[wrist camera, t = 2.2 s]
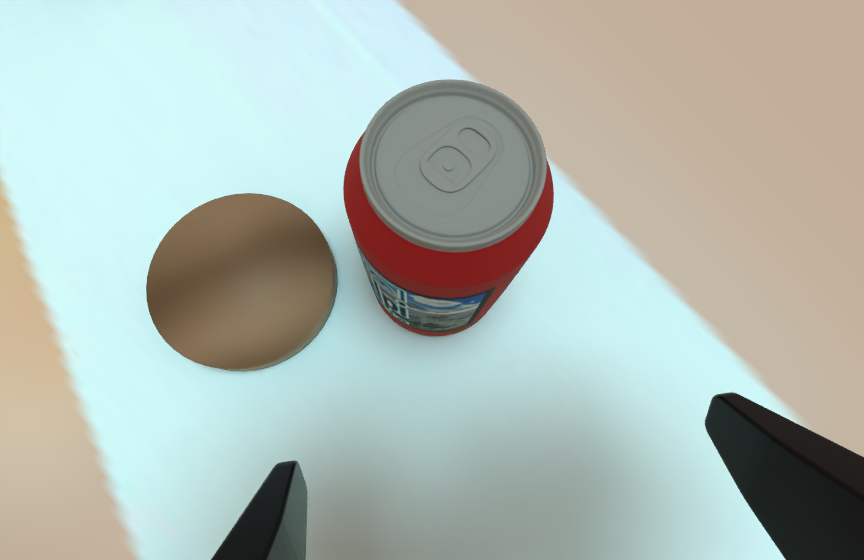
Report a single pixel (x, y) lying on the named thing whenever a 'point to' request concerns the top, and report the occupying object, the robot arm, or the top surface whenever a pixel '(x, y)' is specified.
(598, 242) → the top surface
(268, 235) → the coaster
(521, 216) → the beverage can
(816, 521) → the robot arm
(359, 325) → the top surface
